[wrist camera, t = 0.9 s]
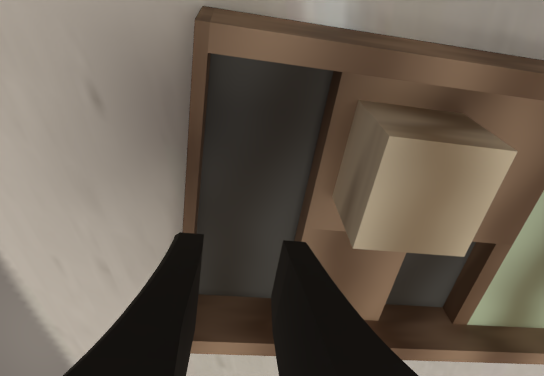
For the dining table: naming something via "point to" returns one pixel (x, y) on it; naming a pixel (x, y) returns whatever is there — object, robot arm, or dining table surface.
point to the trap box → (323, 175)
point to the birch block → (417, 179)
